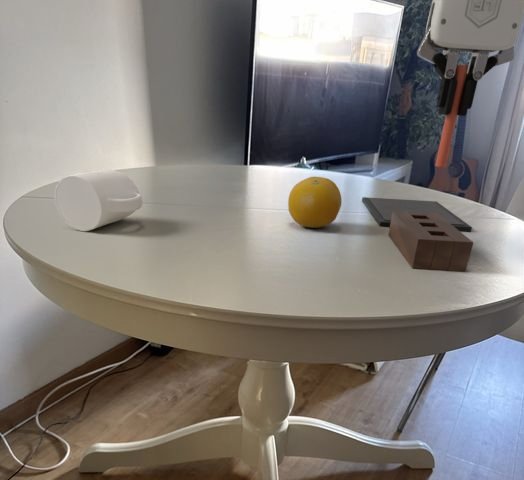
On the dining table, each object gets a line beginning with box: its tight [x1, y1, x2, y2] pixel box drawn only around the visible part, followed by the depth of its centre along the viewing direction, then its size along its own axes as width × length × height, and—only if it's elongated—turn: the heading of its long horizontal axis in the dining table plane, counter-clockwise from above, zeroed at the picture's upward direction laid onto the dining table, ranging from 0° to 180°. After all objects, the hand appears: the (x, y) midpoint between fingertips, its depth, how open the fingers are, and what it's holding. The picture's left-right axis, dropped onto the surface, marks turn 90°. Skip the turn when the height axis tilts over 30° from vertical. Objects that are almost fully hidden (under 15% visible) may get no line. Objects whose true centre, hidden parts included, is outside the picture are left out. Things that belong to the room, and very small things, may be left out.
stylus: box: [434, 64, 469, 168], centre depth 63 cm, size 1×1×12 cm
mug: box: [54, 168, 143, 232], centre depth 74 cm, size 12×9×8 cm
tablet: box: [361, 196, 473, 233], centre depth 93 cm, size 16×22×1 cm
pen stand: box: [387, 211, 474, 273], centre depth 71 cm, size 7×17×4 cm, turn 178°
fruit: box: [287, 176, 343, 229], centre depth 79 cm, size 9×8×8 cm
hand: (452, 113), depth 63 cm, fingers closed on stylus, 1 cm apart
